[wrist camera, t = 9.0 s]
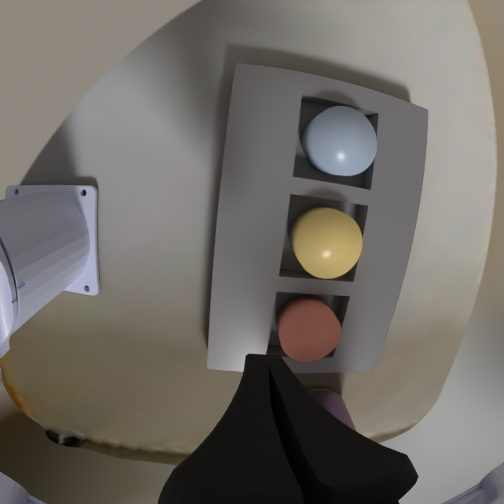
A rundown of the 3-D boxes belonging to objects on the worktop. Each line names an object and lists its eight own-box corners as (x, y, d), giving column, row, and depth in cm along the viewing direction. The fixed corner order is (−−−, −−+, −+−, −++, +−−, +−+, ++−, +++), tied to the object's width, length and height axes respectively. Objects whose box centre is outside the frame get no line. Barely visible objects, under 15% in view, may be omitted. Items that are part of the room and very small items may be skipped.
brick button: (272, 342, 20) (276, 361, 18) (280, 292, 19) (286, 307, 17) (324, 344, 20) (332, 361, 18) (336, 296, 19) (347, 310, 17)
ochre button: (285, 264, 18) (291, 276, 16) (294, 201, 17) (302, 205, 15) (342, 268, 19) (354, 280, 17) (353, 210, 18) (367, 215, 16)
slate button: (298, 169, 17) (306, 169, 15) (305, 107, 16) (314, 99, 14) (358, 179, 17) (373, 181, 15) (364, 120, 16) (379, 115, 14)
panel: (209, 352, 21) (207, 368, 19) (235, 73, 16) (235, 62, 14) (364, 356, 22) (373, 370, 20) (413, 113, 17) (428, 110, 15)
